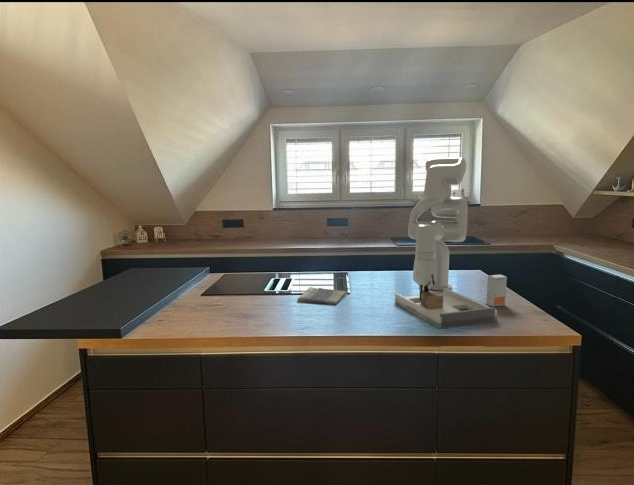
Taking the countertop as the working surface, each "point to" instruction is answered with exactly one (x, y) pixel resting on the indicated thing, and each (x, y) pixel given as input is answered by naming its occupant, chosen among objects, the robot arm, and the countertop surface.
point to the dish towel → (322, 296)
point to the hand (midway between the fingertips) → (424, 300)
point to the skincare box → (496, 290)
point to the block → (431, 300)
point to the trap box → (449, 310)
